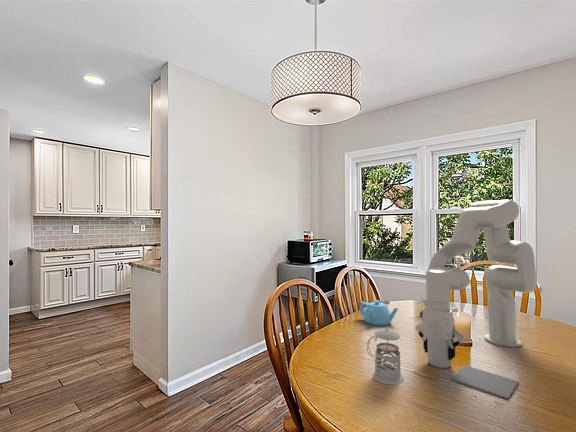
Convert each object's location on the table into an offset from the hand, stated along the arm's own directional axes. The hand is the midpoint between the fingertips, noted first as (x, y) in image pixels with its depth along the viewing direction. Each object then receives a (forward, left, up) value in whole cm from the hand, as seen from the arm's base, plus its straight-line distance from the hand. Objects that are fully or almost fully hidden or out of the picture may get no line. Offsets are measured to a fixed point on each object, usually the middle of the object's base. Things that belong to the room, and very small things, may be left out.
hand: (439, 354), depth 109 cm
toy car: (-54, -22, -4) cm, 58 cm away
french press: (+21, -9, -4) cm, 23 cm away
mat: (+2, +15, -3) cm, 15 cm away
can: (0, 0, -4) cm, 4 cm away
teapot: (-26, -40, -4) cm, 48 cm away
